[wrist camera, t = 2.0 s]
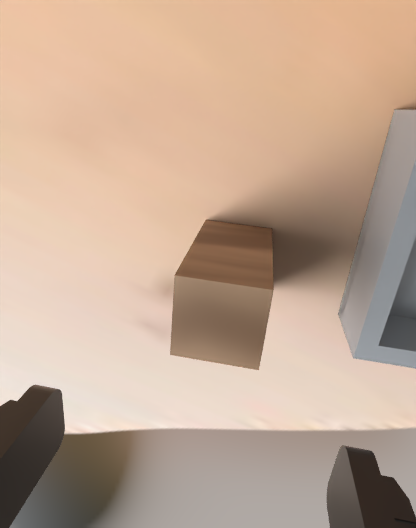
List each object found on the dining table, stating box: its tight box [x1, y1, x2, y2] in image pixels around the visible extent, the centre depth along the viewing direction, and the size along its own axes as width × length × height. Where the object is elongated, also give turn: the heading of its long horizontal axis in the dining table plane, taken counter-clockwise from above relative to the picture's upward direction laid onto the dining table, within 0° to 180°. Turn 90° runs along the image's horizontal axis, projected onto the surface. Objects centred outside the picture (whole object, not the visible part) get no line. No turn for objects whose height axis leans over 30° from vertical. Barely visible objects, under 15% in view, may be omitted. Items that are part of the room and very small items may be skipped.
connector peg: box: [170, 220, 273, 370], centre depth 19 cm, size 4×4×8 cm
